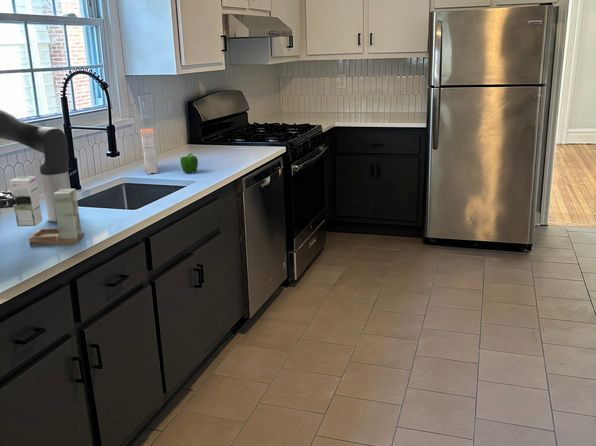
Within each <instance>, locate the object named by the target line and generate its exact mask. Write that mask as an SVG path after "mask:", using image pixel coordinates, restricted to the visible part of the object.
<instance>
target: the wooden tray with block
mask: <svg viewBox="0 0 596 446" xmlns="http://www.w3.org/2000/svg"><path fill="white" fill-rule="evenodd" d="M53 198H54V204H55V212H56V219H57V222H56V224H57V228H39V229H37V230H36V231H35V232H34V233H33V234H31V235H30V236H29V237H28V241H29V246H31V247H32V246H54V245H55V246H56V245H57V246H58V245H74V244H75V243H76V242H77V241H78V240H79V239H80V238H81V237H82V236H83V235H84V236H85V232H84V231H82V227H81V220H80V212H79V207H78V206H79V205H78V198H77V191H76V188H71V189H59V190H58V191H56V192H55V193H53ZM84 236H83V237H84ZM83 237H82V238H83ZM82 238H81V239H82ZM81 239H80V240H81ZM80 240H79V241H80ZM79 241H78V242H79ZM78 242H77V243H78ZM77 243H76V244H77ZM76 244H75V245H76Z"/></svg>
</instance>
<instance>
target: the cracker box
mask: <svg viewBox="0 0 596 446" xmlns="http://www.w3.org/2000/svg"><path fill="white" fill-rule="evenodd" d="M140 136H141V137H140V138H141V143H142V152H143V153H142V154H143V161H144V169H145V172H147V173H146V175H147V174H149V173H158V174H159V166H158V157H157V148H156V138H155V137H156V136H155V132H154V129H153V128H152V127H148V128H147V127H143V128H140ZM149 175H150V174H149Z"/></svg>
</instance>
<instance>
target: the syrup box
mask: <svg viewBox="0 0 596 446" xmlns="http://www.w3.org/2000/svg"><path fill="white" fill-rule="evenodd" d="M8 183H9V188H10V190H11V193H12V197H16V199H17V197H26V196H29V197H31V203H30V204H22V205H17V206H13V208H14V214H15V220H16V224H17V225H16V226H17V227H36V226H38V225H40V223H42V222H43V216H42V214H43V213H42V209H41V205H40V198H39V197H40V196H39V192H38V191H39V190H38V186H37V180H36V176H34V175H33V176H32V175H31V176H14V177H13V178H11V179H10V180H9V182H8Z"/></svg>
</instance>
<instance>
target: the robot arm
mask: <svg viewBox="0 0 596 446" xmlns="http://www.w3.org/2000/svg"><path fill="white" fill-rule="evenodd" d="M0 139H2V140H7V141H12V142H15V143H19V144H21V145H24V146H26V147H27V148H31V150H33V151H34V150H35V151H37V152H38V153H43V155H44V163H42V164H41V165H40V166H39V173H40V178H41V183H42V191H43V196H44V203H45V209H46V216H47V221H49V222H52V223H54V222H55V223H57V219H56V212H55V204H54V198H53V193H55V192H56V191H58V190H59V189H72V187H71V183H70V181H71V180H70V174H69V164H70V157H69V156H70V155H69V146H68V145H69V144H68V137H67V136H66V133H65V132H64V131H63V130H62V129H60V128H58V127H51V126H50V127H49V126H39V125H35V124H33V123H32V124H31V123H28V122H25V121H22V120H20V119H18V118H17V117H16V116H14V115H13V114H11V113H9V112H8V111H6V110H3V109H1V108H0ZM30 203H31V197H29V196H26V197H17V199H16V197H12V193H11V189H5V190H2V191H0V209H9V208H14V206H17V205H22V204H30Z"/></svg>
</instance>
